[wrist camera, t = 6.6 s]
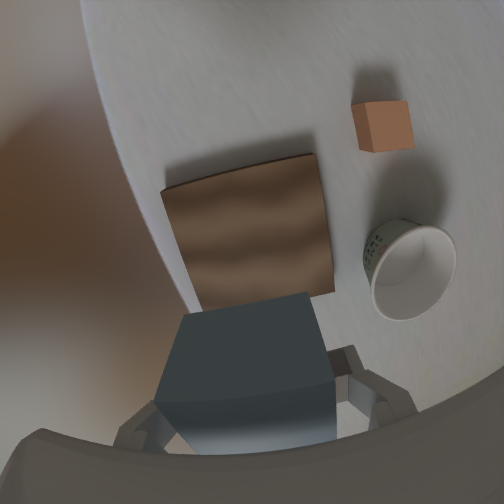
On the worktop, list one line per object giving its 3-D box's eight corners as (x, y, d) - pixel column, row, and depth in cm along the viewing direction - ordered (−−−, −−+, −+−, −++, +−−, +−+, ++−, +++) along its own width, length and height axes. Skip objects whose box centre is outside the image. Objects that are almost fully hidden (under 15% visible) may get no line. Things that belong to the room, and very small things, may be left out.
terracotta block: (350, 105, 25) (364, 102, 21) (389, 103, 24) (406, 100, 20) (359, 149, 27) (373, 152, 23) (396, 145, 26) (414, 147, 22)
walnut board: (165, 188, 28) (160, 192, 26) (311, 152, 27) (315, 154, 25) (207, 308, 35) (205, 317, 33) (331, 283, 33) (335, 291, 31)
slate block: (183, 314, 12) (153, 402, 7) (307, 291, 11) (335, 380, 7) (220, 391, 14) (211, 468, 9) (319, 375, 13) (336, 454, 9)
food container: (359, 205, 29) (383, 223, 23) (437, 211, 29) (467, 228, 23) (345, 295, 34) (360, 326, 28) (418, 290, 34) (439, 316, 28)
